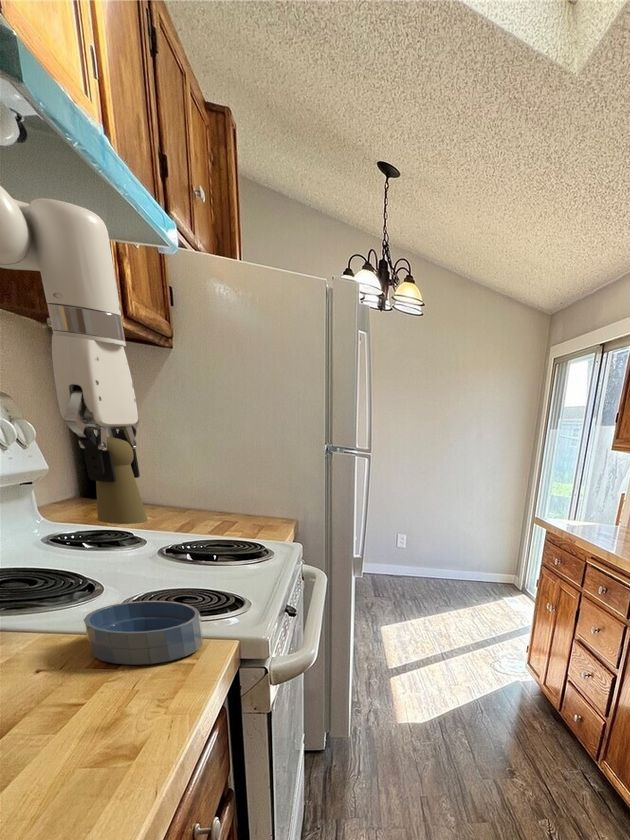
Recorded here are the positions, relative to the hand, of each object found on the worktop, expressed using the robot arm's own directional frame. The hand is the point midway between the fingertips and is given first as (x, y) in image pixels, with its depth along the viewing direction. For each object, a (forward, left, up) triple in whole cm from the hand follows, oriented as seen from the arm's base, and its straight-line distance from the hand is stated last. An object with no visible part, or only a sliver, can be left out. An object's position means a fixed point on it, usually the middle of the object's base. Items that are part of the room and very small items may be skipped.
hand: (115, 477), depth 78 cm
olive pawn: (0, 0, -6) cm, 6 cm away
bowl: (+5, -9, -22) cm, 24 cm away
